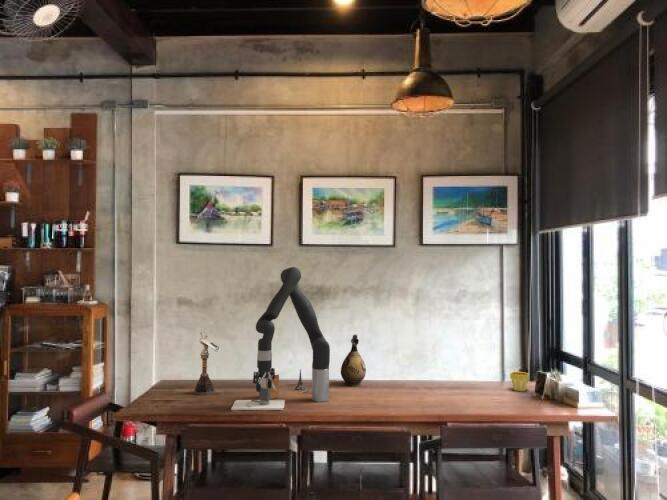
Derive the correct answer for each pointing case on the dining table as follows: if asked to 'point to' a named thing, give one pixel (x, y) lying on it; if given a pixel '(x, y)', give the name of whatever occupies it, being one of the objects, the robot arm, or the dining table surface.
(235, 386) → the dining table surface
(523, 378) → the plant pot
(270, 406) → the gauge board
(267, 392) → the tuning knob
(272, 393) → the small box
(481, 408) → the dining table surface
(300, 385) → the eiffel tower figurine
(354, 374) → the ceramic jug
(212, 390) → the pedestal telescope
